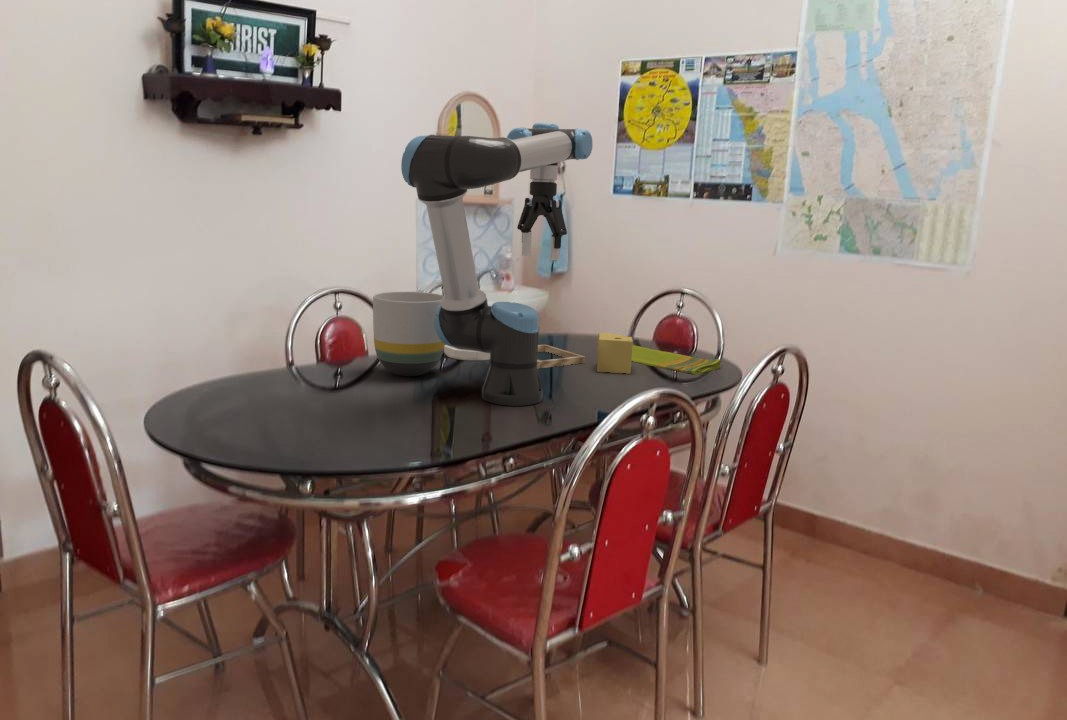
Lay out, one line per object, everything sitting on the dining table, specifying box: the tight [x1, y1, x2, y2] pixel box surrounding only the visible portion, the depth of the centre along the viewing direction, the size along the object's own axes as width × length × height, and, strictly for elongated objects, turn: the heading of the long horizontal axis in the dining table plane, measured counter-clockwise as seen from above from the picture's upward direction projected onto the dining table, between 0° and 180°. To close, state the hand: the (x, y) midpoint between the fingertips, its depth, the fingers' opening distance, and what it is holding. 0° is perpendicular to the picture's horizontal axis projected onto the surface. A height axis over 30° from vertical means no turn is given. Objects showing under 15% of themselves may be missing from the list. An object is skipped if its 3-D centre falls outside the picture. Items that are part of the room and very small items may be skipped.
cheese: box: [596, 332, 634, 375], centre depth 244 cm, size 10×11×10 cm
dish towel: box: [632, 344, 722, 376], centre depth 259 cm, size 15×36×3 cm, turn 50°
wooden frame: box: [537, 344, 586, 370], centre depth 254 cm, size 18×20×2 cm
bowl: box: [443, 344, 490, 362], centre depth 256 cm, size 16×16×3 cm
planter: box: [372, 291, 445, 377], centre depth 226 cm, size 20×20×21 cm
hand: (540, 258), depth 237 cm, fingers open, 13 cm apart
